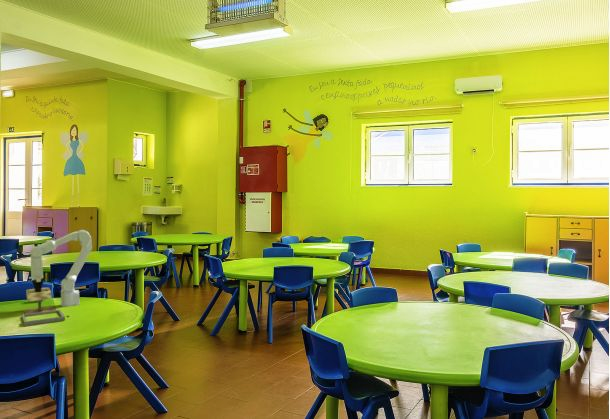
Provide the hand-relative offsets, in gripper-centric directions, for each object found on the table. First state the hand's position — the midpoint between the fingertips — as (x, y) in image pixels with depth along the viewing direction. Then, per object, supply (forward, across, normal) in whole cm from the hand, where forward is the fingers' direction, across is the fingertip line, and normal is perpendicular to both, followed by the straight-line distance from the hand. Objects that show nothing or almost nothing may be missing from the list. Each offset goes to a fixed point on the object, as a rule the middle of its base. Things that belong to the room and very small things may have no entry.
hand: (37, 293), depth 285 cm
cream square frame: (+2, +6, 0) cm, 6 cm away
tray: (+10, +24, 0) cm, 26 cm away
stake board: (+10, +6, 0) cm, 11 cm away
